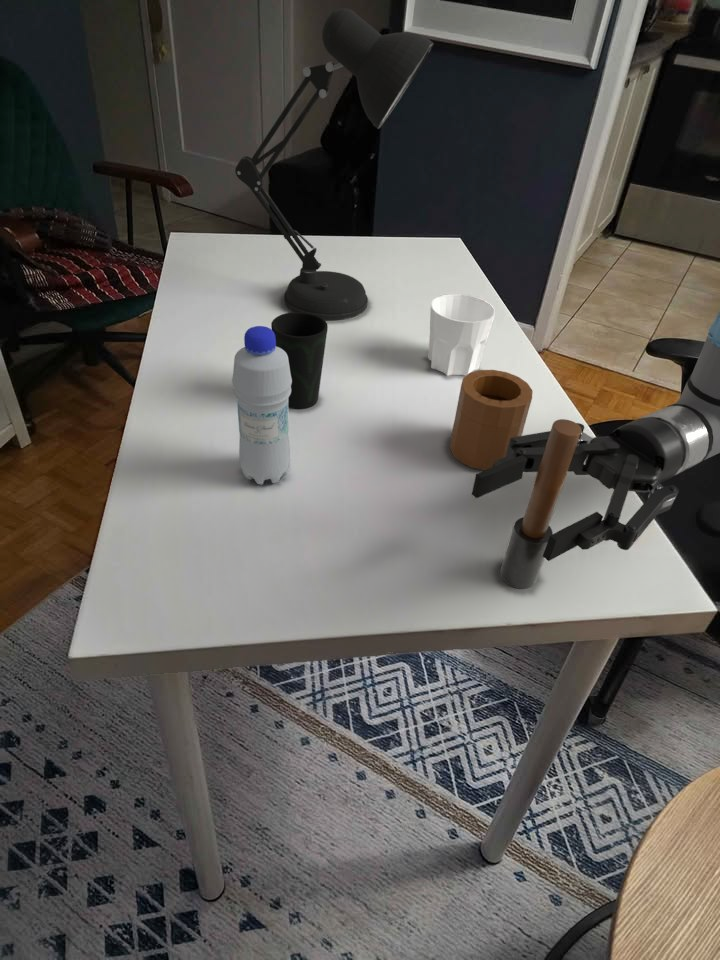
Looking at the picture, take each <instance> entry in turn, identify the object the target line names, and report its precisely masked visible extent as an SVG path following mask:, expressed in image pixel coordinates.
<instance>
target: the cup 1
mask: <svg viewBox="0 0 720 960" xmlns="http://www.w3.org/2000/svg"><path fill="white" fill-rule="evenodd" d="M270 327H271V328H270V329H271V330H272V331H273V332H274V334H275V338H276V347H279V348H281V349H282V350H284V351H285V352H286V354H287V356H288V360H289V367H290V374H291V378H292V383H291V394H290V396H289V397H288V408H290V409H292V410H293V409H294V410H306V409H309V408H312V407H314V406H315V405H317V403H318V401H319V394H320V388H321V380H322V373H323V367H324V366H323V365H324V359H325V358H324V357H325V350H326V342H327V337H328V328H329V326H328V323H327V320H324V319H323V318H321V317H319V316H317V315H314V314H311V313H306V312H293V311H290V312H286V313H282V314H279V315H278V316H275V318H274V319H272V321H271V326H270Z"/></svg>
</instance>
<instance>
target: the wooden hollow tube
mask: <svg viewBox="0 0 720 960" xmlns="http://www.w3.org/2000/svg"><path fill="white" fill-rule="evenodd" d="M532 401H533V389H532V388H531V386H530V385H529V383H528V382H527V381H525V380H524V379H522V378H521V377H519V376H518V375H515V374H513V373H510V372H507V371H502V370H497V369H478V370H473V371H472V372H470V373H469V374H468V375H466V376H464V377H463V378H462V380H461V383H460V390H459V395H458V400H457V405H456V409H455V416H454V420H453V426H452V431H451V437H450V442H449V449H450V452H451V454H452V455H453V457H454V458H455V459H456V460H458V461H459V462H460V463H462V464H464V465H465V466H468V467H470V468H472V469H476V470H480V471H481V470H482V471H485V470H487V469H489V468H492V466H493V463H494V462H495V461H497V460H500V459H502V458H504V457H505V456H506V452H507V448H508V444H509V441H510V438H512V437H518V436H523V432H524V430H525V429H524V428H525V426H526V420H527V418H528V414H529V411H530V408H531V403H532Z"/></svg>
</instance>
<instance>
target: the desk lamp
mask: <svg viewBox="0 0 720 960" xmlns="http://www.w3.org/2000/svg"><path fill="white" fill-rule="evenodd" d="M321 40H322V43H323V47H324V49H325V50H326V52H327V53H328V54H329V55H330V56H331V57H332V58H333V59H335V60H336V61H337V62H338V63H335V62H334V61H331V60H330V61H329V62H326V63H324V64H320V65H315V66H310V65H308V66H305V67H304V68H303V69H302V74H303V76H304V78H303V80H302V81H301V83H300V84H299V86H298V88H297V89H296V90H295V92H294V94H293V95H292V96H291V98H290V99H289V101H288V103H287V104H286V106H285V108H283V111H282V112H280V115H279V116H278V118H277V119H276V121H275V122H274V123H273V125H272V127H271V128H270V129H269V132H268V133H267V134H266V135H265V138H264V139H263V140H262V142H261V143H260V145H259V147H258V148H257V149H256V151H255V152H254V154H253V156H248V155H247V156H243V157H241V159H240V160H239V161H238V163H237V164H236V166H235V170H234V171H235V175H236V177H237V178H238V179H239V180H240V181H241V182H242V183H243V184H244V185H246V186H247V187H248V188H249V189H250V190H251V192H252V193H253V194H254V196H255V197H256V199H257V200H258V201H259V203H260V204H261V206H262V208H263V209H264V210H265V211H266V213H267V214H268V215H269V217H270V219H271V220H272V222H274V224H275V225H276V227H277V228H278V230H279V231H280V232H281V234H282V236H283V238H284V239H285V240H286V241H287V242H288V244H289V245H290V247H291V248H292V250H293V251H294V253H295V254H296V255H297V257H298V259H300V261H301V266H302V267H301V268H300V270H299V275H297V276H295V277H293V278H292V279H291V280H290V282H289V283H288V285H287V288H286V290H285V292H284V299H283V300H284V301H283V302H284V304H285V306H286V307H287V309H288V310H289V311H290V312H306V313H311V314H314V315H317V316H319V317H321V318H323V319H324V320H325V321H343V320H348V319H352V318H355V317H357V316H359V315H361V314H363V313H364V312H365V311H366V310H367V308H368V305H369V302H368V301H369V299H368V298H369V297H368V295H367V293H366V289H365V287H364V285H363V283H362V282H361V281H360V280H358V279H356V278H355V277H353V276H351V275H348V274H345V273H342V272H337V271H328V270H319V269H320V268H321V267H322V263H321V262H319V261H318V259H317V258H316V257H315V256H316V253H317V249H318V248H317V247H315V246H314V245H313V244H311V242H309V241H308V240H307V239H306V237H304V236H303V235H302V234H300V232H299V231H297V230H295V229H293V228H292V226H291V225H290V223H289V221H288V220H287V219H286V217H285V216H284V214H283V213H282V212H281V211H280V209H279V208H278V206H277V205H276V203H275V201H273V199H272V198H271V196H270V194H269V193H268V192H267V190H266V189H265V187H264V180H263V179H264V178H265V176H266V175H267V173H268V172H269V171H270V169H271V168H272V166H273V165H274V163H275V162H276V161H277V159H278V158H279V156H280V155H281V153H282V152H283V150H284V149H285V147H286V146H287V145H288V143H289V142H290V140H291V139H292V137H293V136H294V135H295V133H296V132H297V130H298V129H299V127H300V126H301V125H302V123H303V121H304V120H305V119H306V117H307V116H308V114H309V113H310V112H311V110H312V109H313V107H314V106H315V104H316V102H317V101H318V99H319V98H321V99H325V98H326V97H328V96H329V88H330V85H331V80H332V77H333V74H334V73H333V72H334V71H336V70H338V69H341V68H343V67H344V68H345V69H346V70H347V71H348V72H349V73H351V74H352V75H353V76H354V77H355V78H356V79H355V80H356V84H357V91H358V95H359V99H360V103H361V107H362V109H363V110H364V113H365V115H366V116H367V118H368V120H369V121H370V122H371V123H372V125H373V126H374V127H375V128H376V129H377V130H380V128H381V127H383V124H384V123H385V122H386V120H387V119H388V118H389V117H390V115H391V113H392V112H393V111H394V109H395V108H396V106H397V104H398V103H399V102H400V100H401V99H402V97H403V96H404V94H405V92H406V91H407V89H408V87H409V86H410V85H411V83H412V81H413V80H414V78H415V77H416V75H417V73H418V72H419V70H420V69H421V67H422V65H423V64H424V62H425V60H426V59H427V58H428V55H429V54H430V52H431V50H432V48H433V46H434V42H433V41H432V40H430V39H429V38H427V37H425V36H423V35H421V34H418V33H414V32H408V31H406V32H393V33H387V34H386V33H385V34H381V33H380V32H379V31H377V30H376V28H374V27H373V26H372V25H370V24H369V23H368V22H366V21H365V20H364V19H363V18H362V17H361V16H359V15H358V14H357V13H356V12H355V11H353V10H352V9H349V8H346V7H344V8H343V7H342V8H337V9H335V10H333V11H332V12H331V13H330V14H328V16H327V18H326V19H325V21H324V24H323V27H322V31H321ZM309 83H311V84H312V85H313V87H314V88H315V89H316V91H315V92H314V94H313V96H312V97H311V98H310V100H309V102H308V103H307V104H306V105H305V107H304V108H303V110H302V111H301V113H300V114H299V116H298V117H297V119H296V120H295V122H293V123H294V124H293V125H292V126H291V127H290V129H289V131H288V132H287V134H286V135H285V137H284V138H283V139H282V140H281V141H280V142H278V143H277V144H276V145H274V146H273V147H272V148H270V149H268V151H266V152H265V153H263V152H264V151H265V149H266V147H267V146H268V144H269V143H270V141H271V140H272V139H273V137H274V136H275V134H276V133H277V131H278V129H279V128H280V126H281V125H282V123H283V122H284V121H285V119H286V118H287V116H288V114H289V113H290V112H291V110H292V108H294V105H295V104H296V102H297V101H298V100H299V98H300V97H301V95H302V93H303V92H304V90H305V89H306V87H307V86H308V84H309ZM271 155H272V156H271ZM270 156H271V157H270ZM269 157H270V159H269V160H268V162H266V165H265V166H264V167H263V169H262V170H261V171H259V169H258V167H257V166H258V165H260V163H262V162H263V161H264V160H266V159H267V158H269ZM302 241H304V243H306V245H308V246H309V247H310V248H311V250H310V251H309V250H308V249H307V247H306V246H305V245H304V243H303V242H302Z"/></svg>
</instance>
